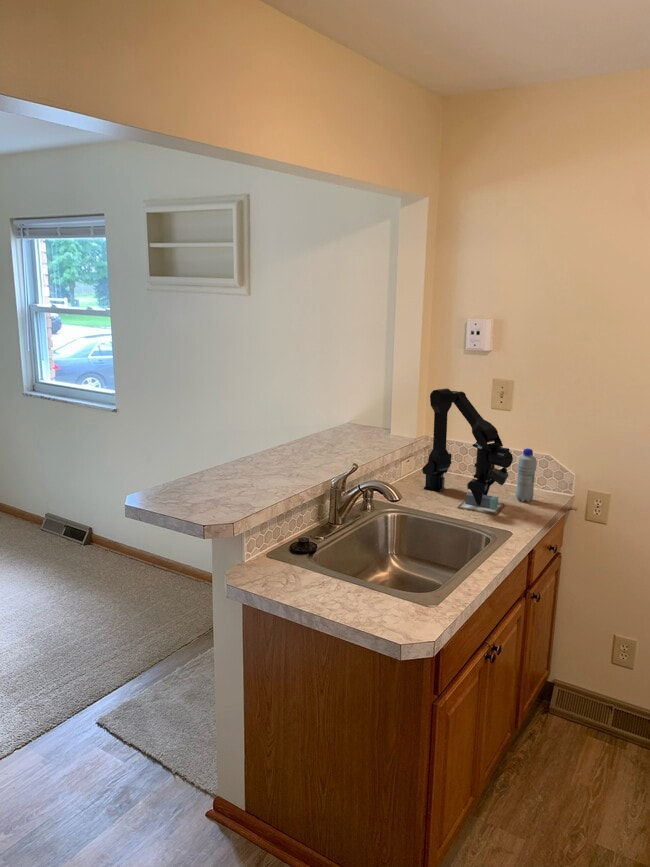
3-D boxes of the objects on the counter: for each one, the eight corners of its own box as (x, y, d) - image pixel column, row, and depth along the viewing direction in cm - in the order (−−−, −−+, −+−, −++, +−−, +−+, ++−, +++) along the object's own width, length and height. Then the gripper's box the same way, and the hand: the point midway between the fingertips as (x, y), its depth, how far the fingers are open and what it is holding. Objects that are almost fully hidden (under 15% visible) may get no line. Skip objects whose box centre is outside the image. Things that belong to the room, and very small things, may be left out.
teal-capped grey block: (465, 503, 244) (465, 494, 243) (468, 501, 247) (468, 492, 246) (495, 509, 238) (495, 500, 238) (497, 506, 241) (498, 497, 241)
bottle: (512, 501, 248) (517, 449, 244) (516, 496, 254) (521, 445, 249) (531, 504, 245) (536, 452, 241) (534, 499, 251) (539, 447, 246)
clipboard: (457, 508, 241) (457, 505, 241) (467, 498, 251) (467, 495, 251) (496, 515, 234) (496, 512, 234) (504, 505, 245) (504, 502, 244)
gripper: (500, 471, 227) (496, 514, 231) (513, 458, 243) (510, 498, 246) (468, 466, 232) (465, 508, 236) (483, 453, 248) (480, 493, 252)
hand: (481, 502), depth 242 cm, fingers open, 7 cm apart
